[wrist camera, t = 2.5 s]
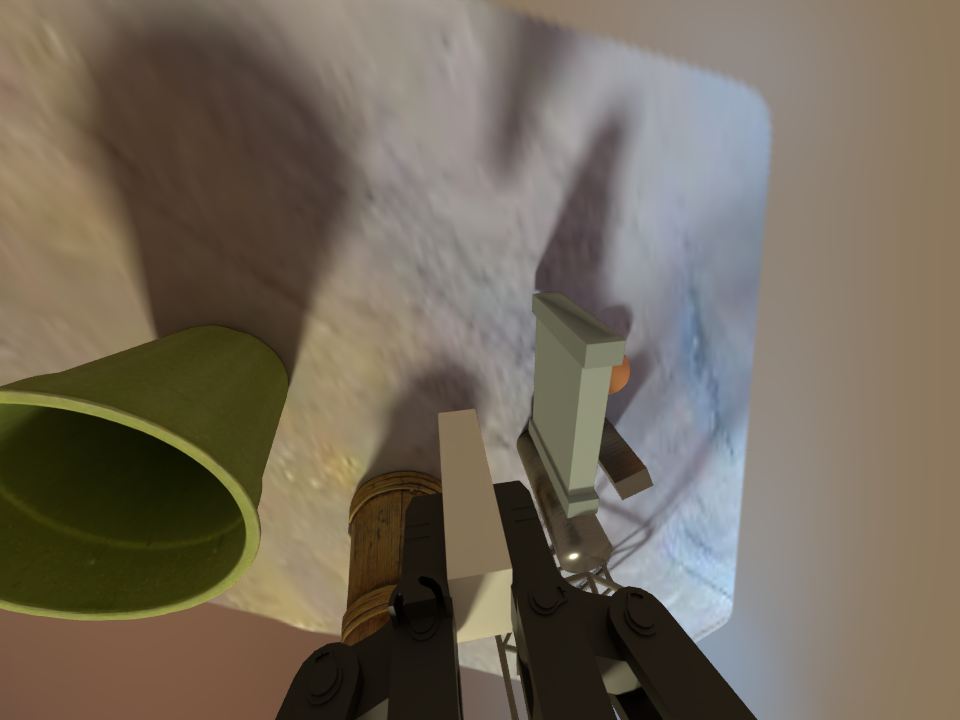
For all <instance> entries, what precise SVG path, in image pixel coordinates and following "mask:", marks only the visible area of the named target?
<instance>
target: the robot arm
mask: <svg viewBox="0 0 960 720" xmlns="http://www.w3.org/2000/svg"><path fill="white" fill-rule="evenodd" d="M438 423H439V441H440V458H441V475H442V493H436V494H429V495H422V496H415V497H413V498H412V499H411V501H410V503H409V505H408V507H407V509H406V512H405V530H404V543H403V559H402V575H401V581H400V582H399V583H398V584H397V586H396V587H395V589H394V590H393V592H392V593H391V595H390V599H389V603H388V611H389V614H390V617H391V618H390V619H389V620H388V621H387V622H386V624H385V625H384V626H383V627H382V628H380V629H379V630H377V631H376V632H375V633H373V634H371V635H370V636H368V637H366V638H364V639H363V640H361V641H359V642H357V643H356V644H354V645H352V646H349V645H346V644H344V643H341V642H337V643H330V644H327V645H325V646H323V647H321V648H319V649H318V650H316V651H314V652H313V654H312V655H310V657H308V658H307V660H306V661H304V663H303V664H302V666H301V668H300V669H299V671H298V672H297V674H296V676H295V677H294V679H293V682H292V684H291V686H290V688H289V690H288V693H287V695H286V697H285V699H284V701H283V703H282V706H281V708H280V710H279V712H278V714H277V717H276V719H275V720H464V716H463V703H462V690H461V677H460V668H459V659H458V645H457V643H460V642H465V641H470V640H475V639H480V638H485V637H490V636H496V635H501V634H506V633H511V632H514V637H515V642H516V646H517V675H520V678H521V683H522V688H523V693H524V698H525V704H526V709H527V714H528V719H529V720H617V718H616V715H615V712H614V710H613V707H614V708H615V710H616V712H617V714H618V716H619V717H620V719H621V720H757V719H756V718H755V716H754V715H753V714H752V713H751V711H750V710H749V709H748V708H747V706H746V705H745V704H744V703H743V701H742V700H741V699H740V698H739V697H738V695H737V694H736V693H735V692H734V691H733V689H732V688H731V687H730V686H729V684H728V683H727V682H726V681H725V680H724V678H723V677H722V676H721V675H720V673H718V671H717V670H716V669H715V668H714V666H713V665H712V664H711V663H710V661H709V660H708V659H707V658H706V656H705V655H704V654H703V653H702V652H701V650H700V649H699V648H698V647H697V645H696V644H695V643H694V642H693V641H692V639H691V638H690V637H689V636H688V635H687V633H686V632H685V631H684V630H683V628H682V627H681V626H680V625H679V624H678V622H677V621H676V620H675V619H674V617H673V616H672V615H671V614H670V613H669V611H668V610H667V609H666V608H665V607H664V605H663V604H662V603H661V602H660V601H659V600H658V599H656V598H655V597H654V596H653V595H652V594H650V593H648V592H647V591H645V590H643V589H641V588H636V587H631V586H628V587H624V588H619V589H618V590H617V591H616V592H615V593H614V594H613V595H612V596H607V595H601V594H596V593H590V592H586V591H583V590H579V589H578V588H576V587H574V586H572V585H571V584H570V583H568V582H567V581H566V580H565V579H564V578H563V577H562V575H561V574H560V573H559V571H558V569H557V567H556V565H555V563H554V560H553V557H552V554H551V551H550V548H549V546H548V543H547V540H546V537H545V534H544V531H543V528H542V526H541V523H540V520H539V517H538V514H537V511H536V509H535V506H534V503H533V500H532V497H531V494H530V492H529V490H528V489H527V488H526V487H525V486H524V485H523V484H522V483H521V482H520V481H519V480H518V481H512V482H505V483H498V484H493V483H492V479H491V475H490V471H489V466H488V462H487V458H486V453H485V449H484V445H483V440H482V436H481V432H480V427H479V423H478V419H477V415H476V410H475V409H469V410H460V411H452V412H444V413H438ZM611 703H612V704H611ZM612 705H613V707H612Z"/></svg>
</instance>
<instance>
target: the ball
mask: <svg viewBox="0 0 960 720" xmlns="http://www.w3.org/2000/svg"><path fill="white" fill-rule="evenodd" d="M629 377H630V364H629V361H628V359H627V358H626V356H625V355H624V357H623V363H622V365H617V366H612V373H611V379H610V386H609V392H608V394H612V393H615V392H617V391H619V390H620V389H622V388H623V387H624V386H625V385H626V383H627V381H628V379H629Z"/></svg>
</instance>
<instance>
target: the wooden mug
mask: <svg viewBox="0 0 960 720" xmlns="http://www.w3.org/2000/svg"><path fill="white" fill-rule="evenodd" d="M436 493H442V482H440V481H439V480H437V479H436V478H433V477H431V476H428V475H426V474H422V473H416V472H394V473H390V474H386V475H381V476H379V477H376V478H374V479H372V480H370V481H368V482H367V483H366V484H364V485H363V486H362V487H361V488H360V489H359V490H358V492H357V493H356V495H355V497H354V498H353V500H352V503H351V506H350V513H349V529H348V535H349V537H350V539H351V550H350V568H349V585H348V599H347V611H346V613H345V614H344V616H343V621H342V632H341V641H342V642H341V643H344V644H346V645H349V646H352V645H354V644H356V643H357V642H359V641H361V640H363V639H364V638H366V637H368V636H370V635H371V634H373V633H375V632H376V631H377V630H379V629H380V628H382V627H383V626H384V625H385V624H386V622H387V621H388V620H389V619H390V618H391V617H390V614H389V611H388V603H389V599H390V595H391V593H392V592H393V590H394V589H395V587H396V586H397V584H398V583H399V582H400V581H401V575H402V559H403V543H404V530H405V512H406V509H407V507H408V505H409V503H410V501H411V499H412V498H413V497H415V496H422V495H429V494H436Z"/></svg>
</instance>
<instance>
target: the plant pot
mask: <svg viewBox="0 0 960 720" xmlns="http://www.w3.org/2000/svg"><path fill="white" fill-rule="evenodd" d="M287 392H288V377H287V373H286V370H285V368H284V366H283V364H282V362H281V360H280V359H279V358H278V356H277V355H276V354H275V353H274V352H273V351H272V350H271V349H270V348H269V347H268V346H267V345H266V344H264V343H263V342H262V341H260V340H259V339H257V338H256V337H254V336H252V335H250V334H247V333H242V332H239V331H235V330H232V329H228V328H225V327H222V326H215V325H209V326H199V327H192V328H189V329H186V330H183V331H180V332H177V333H174V334H171V335H168V336H165V337H163V338H160V339H157V340H154V341H151V342H148V343H145V344H142V345H139V346H137V347H134V348H131V349H128V350H125V351H122V352H119V353H116V354H113V355H110V356H107V357H104V358H101V359H98V360H95V361H92V362H89V363H86V364H83V365H81V366H78V367H75V368H72V369H69V370H66V371H63V372H60V373H52V374H45V375H40V376H34V377H30V378H26V379H23V380H20V381H16V382H13V383H10V384H7V385H4V386H1V387H0V608H2V609H5V610H9V611H14V612H20V613H26V614H31V615H39V616H47V617H54V618H65V619H72V620H124V619H138V618H145V617H152V616H158V615H163V614H166V613H169V612H175V611H179V610H183V609H187V608H190V607H193V606H196V605H198V604H200V603H203V602H206V601H208V600H210V599H212V598H214V597H216V596H218V595H219V594H221V593H223V592H224V591H226V590H227V589H229V588H230V587H231V586H233V585H234V584H235V583H236V582H237V581H238V580H239V579H240V578H241V577H242V576H243V575H244V574H245V573H246V572H247V571H248V569H249V568H250V567H251V565H252V563H253V561H254V559H255V557H256V555H257V552H258V549H259V545H260V538H261V525H260V519H259V515H258V511H257V509H258V505H259V502H260V498H261V493H262V476H263V473H264V470H265V466H266V463H267V460H268V457H269V453H270V450H271V447H272V443H273V440H274V437H275V433H276V430H277V427H278V423H279V420H280V417H281V413H282V410H283V407H284V404H285V401H286V397H287Z"/></svg>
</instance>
